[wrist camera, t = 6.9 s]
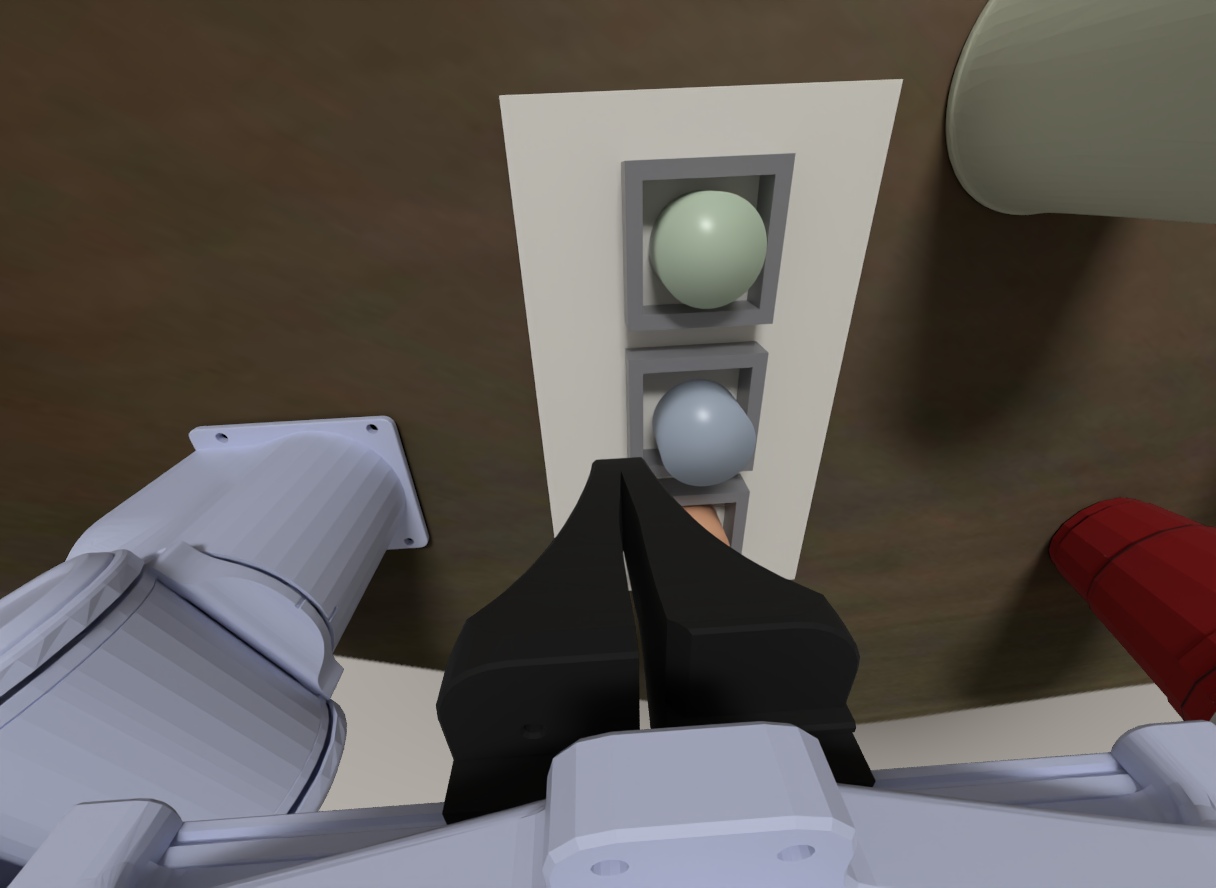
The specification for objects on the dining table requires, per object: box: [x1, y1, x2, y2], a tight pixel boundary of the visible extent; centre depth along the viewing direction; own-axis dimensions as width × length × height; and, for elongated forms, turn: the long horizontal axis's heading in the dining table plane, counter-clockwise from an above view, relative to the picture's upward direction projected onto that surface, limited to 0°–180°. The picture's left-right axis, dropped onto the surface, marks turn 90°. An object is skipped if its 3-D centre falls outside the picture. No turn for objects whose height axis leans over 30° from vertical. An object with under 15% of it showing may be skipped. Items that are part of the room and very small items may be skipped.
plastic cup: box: [1049, 498, 1216, 726], centre depth 24 cm, size 11×11×12 cm
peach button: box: [682, 504, 730, 546], centre depth 24 cm, size 4×4×2 cm
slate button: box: [652, 379, 756, 486], centre depth 20 cm, size 4×4×2 cm
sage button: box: [649, 190, 767, 309], centre depth 17 cm, size 4×4×2 cm
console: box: [499, 79, 903, 591], centre depth 22 cm, size 14×24×3 cm, turn 2°
